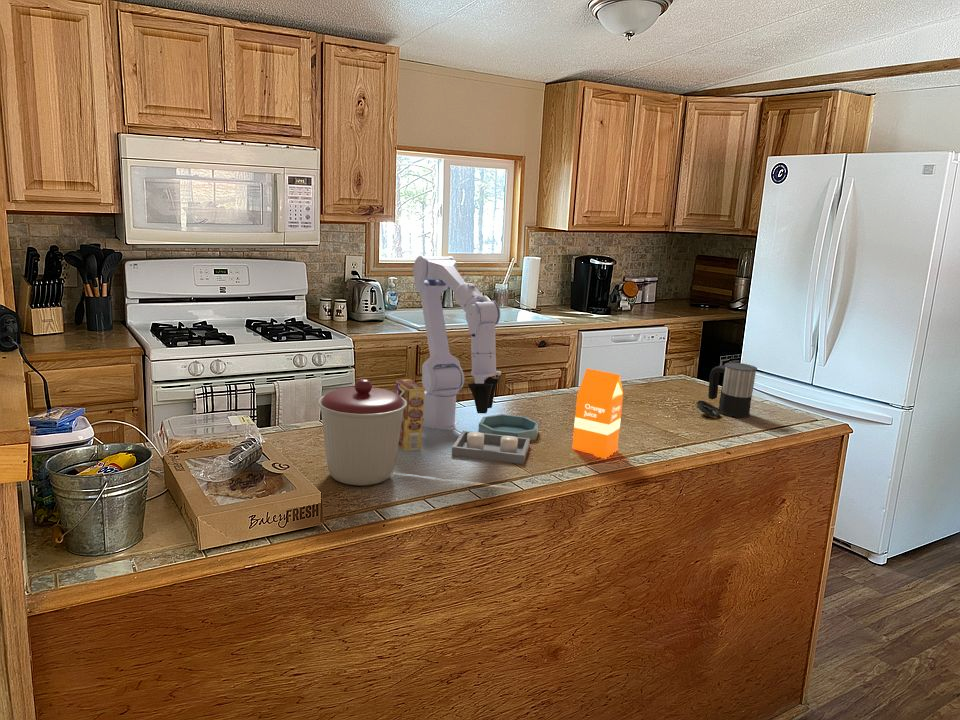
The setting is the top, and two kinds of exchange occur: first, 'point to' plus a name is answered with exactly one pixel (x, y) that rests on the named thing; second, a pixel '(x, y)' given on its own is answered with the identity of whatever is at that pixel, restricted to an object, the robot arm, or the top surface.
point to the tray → (491, 449)
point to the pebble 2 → (509, 444)
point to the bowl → (509, 426)
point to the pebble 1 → (475, 440)
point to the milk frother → (731, 390)
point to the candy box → (411, 414)
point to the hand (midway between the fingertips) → (484, 410)
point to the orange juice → (598, 413)
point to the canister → (361, 432)
